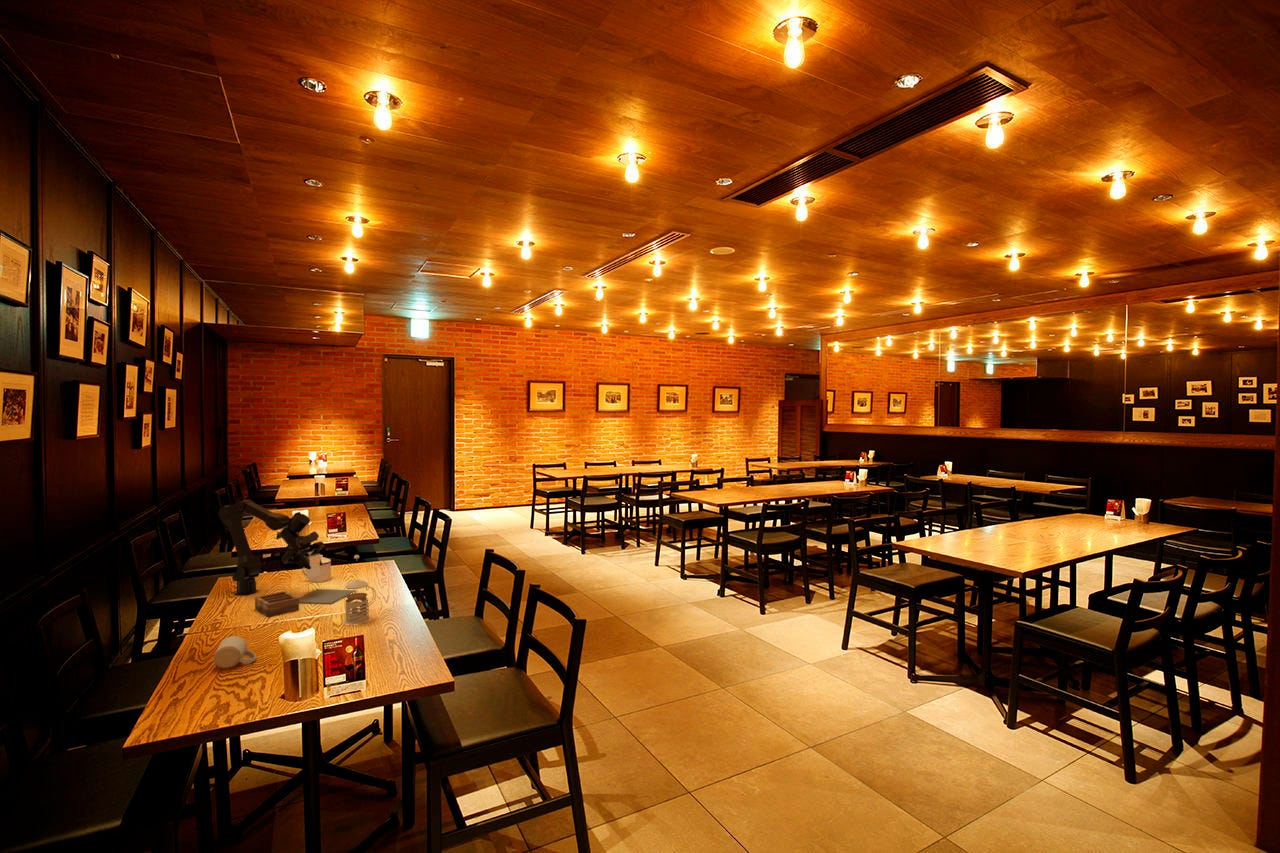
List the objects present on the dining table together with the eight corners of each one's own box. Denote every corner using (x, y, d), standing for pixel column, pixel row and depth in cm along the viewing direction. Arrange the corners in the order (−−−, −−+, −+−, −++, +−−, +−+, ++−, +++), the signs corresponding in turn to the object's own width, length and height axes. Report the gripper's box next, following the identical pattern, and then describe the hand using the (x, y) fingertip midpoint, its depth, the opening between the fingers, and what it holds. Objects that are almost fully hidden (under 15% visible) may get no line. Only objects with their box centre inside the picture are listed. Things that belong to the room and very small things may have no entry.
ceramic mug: (212, 671, 182) (212, 646, 182) (218, 661, 190) (219, 637, 190) (253, 666, 186) (253, 641, 186) (258, 656, 194) (258, 632, 194)
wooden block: (305, 578, 252) (305, 556, 252) (316, 574, 258) (316, 553, 258) (309, 578, 252) (309, 557, 252) (320, 574, 258) (320, 553, 258)
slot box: (255, 609, 240) (255, 597, 240) (285, 603, 248) (285, 591, 248) (267, 617, 231) (267, 604, 231) (298, 610, 239) (298, 597, 239)
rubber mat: (289, 603, 248) (289, 601, 248) (317, 590, 266) (317, 589, 266) (331, 604, 247) (331, 603, 247) (356, 591, 265) (355, 590, 265)
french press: (338, 621, 227) (337, 555, 226) (369, 613, 235) (369, 550, 235) (348, 627, 220) (348, 559, 220) (380, 619, 229) (380, 554, 228)
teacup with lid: (332, 576, 289) (332, 552, 288) (330, 581, 280) (330, 556, 280) (303, 579, 284) (303, 554, 284) (301, 584, 276) (300, 559, 276)
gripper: (287, 530, 246) (311, 559, 244) (320, 522, 264) (342, 549, 263) (271, 549, 248) (294, 577, 246) (305, 539, 266) (327, 566, 264)
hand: (315, 566), depth 255 cm, fingers closed on wooden block, 6 cm apart
